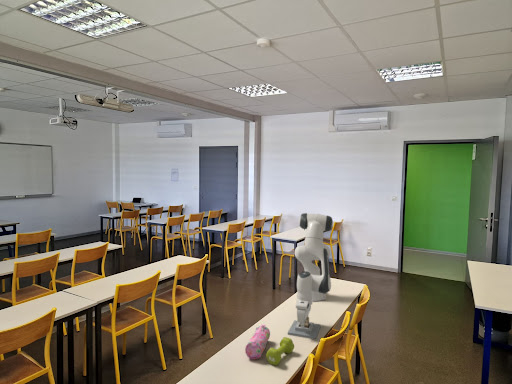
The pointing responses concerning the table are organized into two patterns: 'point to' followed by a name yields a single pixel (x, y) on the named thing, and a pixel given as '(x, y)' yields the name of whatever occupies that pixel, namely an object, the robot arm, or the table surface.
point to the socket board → (304, 330)
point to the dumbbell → (280, 351)
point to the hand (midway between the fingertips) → (304, 323)
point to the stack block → (306, 323)
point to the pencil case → (257, 342)
